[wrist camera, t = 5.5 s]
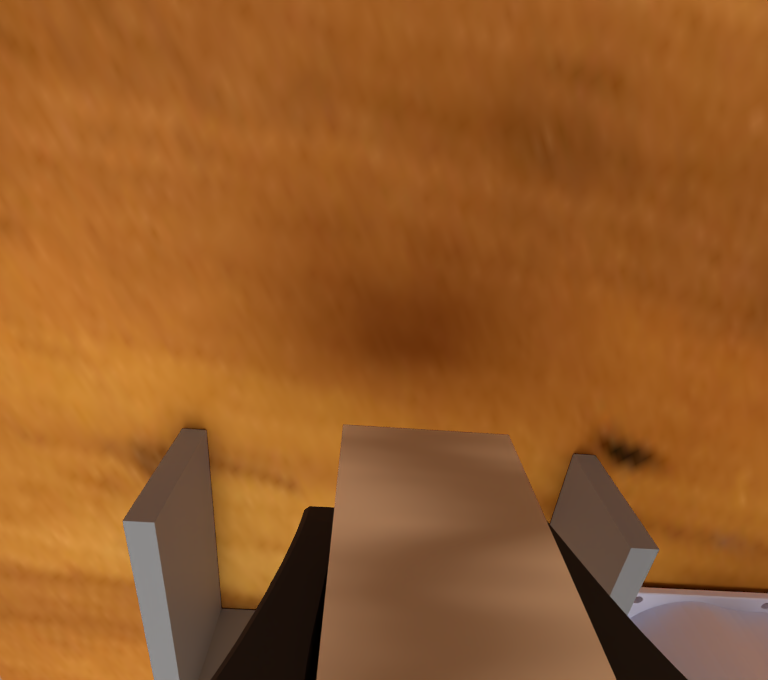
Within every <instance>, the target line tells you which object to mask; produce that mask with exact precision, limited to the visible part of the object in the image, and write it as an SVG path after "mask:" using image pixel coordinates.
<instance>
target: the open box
mask: <svg viewBox="0 0 768 680" xmlns="http://www.w3.org/2000/svg"><path fill="white" fill-rule="evenodd" d="M550 525H551V526H552V527H553V529H554V530H555V531H556V532H557V534H558V535H559V536H560V537H561V538H562V540H563V541H564V542H565V543H566V544H567V546H568V547H569V548H570V549H571V550H572V552H573V553H574V554H575V555H576V557H577V558H578V559H579V560H580V561H581V563H582V564H583V565H584V566H585V567H586V569H587V570H588V571H589V572H590V573H591V575H592V576H593V577H594V578H595V579H596V580H597V582H598V583H599V584H600V585H601V586H602V587H603V589H604V590H605V591H606V592H607V593H608V594H609V596H610V597H611V598H612V599H613V600H614V601H615V602H616V603H617V605H618V606H619V607H620V608H621V609H622V610H623V611H624V613H625V614H626V615H628V613H629V611H630V609H631V607H632V605H633V603H634V601H635V599H636V597H637V595H638V592H639V590H640V588H641V586H642V584H643V582H644V580H645V578H646V576H647V574H648V572H649V570H650V568H651V566H652V564H653V562H654V559H655V557H656V555H657V553H658V551H659V548H658V547H657V545H656V544H655V543H654V541H653V540H652V538H651V537H650V535H649V534H648V532H647V531H646V529H645V528H644V526H643V525H642V523H641V522H640V520H639V519H638V517H637V516H636V515H635V513H634V512H633V510H632V509H631V507H630V506H629V504H628V503H627V501H626V500H625V498H624V497H623V495H622V494H621V492H620V491H619V489H618V488H617V487H616V485H615V484H614V482H613V481H612V479H611V478H610V476H609V475H608V473H607V472H606V470H605V469H604V467H603V466H602V464H601V463H600V461H599V460H598V459H597V457H596V456H595V455H583V454H573V457H572V460H571V463H570V466H569V469H568V472H567V475H566V478H565V481H564V484H563V487H562V490H561V493H560V496H559V499H558V502H557V505H556V508H555V511H554V514H553V517H552V520H551V523H550ZM123 526H124V531H125V536H126V541H127V546H128V551H129V556H130V561H131V566H132V571H133V576H134V581H135V586H136V591H137V596H138V601H139V606H140V611H141V616H142V621H143V626H144V631H145V636H146V641H147V646H148V651H149V656H150V661H151V666H152V672H153V677H154V680H211V678H212V677H213V675H214V674H215V673H216V671H217V670H218V668H219V667H220V665H221V664H222V662H223V661H224V659H225V658H226V656H227V655H228V653H229V652H230V650H231V649H232V647H233V646H234V644H235V643H236V641H237V639H238V638H239V636H240V635H241V633H242V631H243V630H244V628H245V626H246V625H247V623H248V622H249V620H250V618H251V617H252V615H253V613H254V612H255V610H242V609H222V607H221V596H220V584H219V572H218V560H217V549H216V537H215V525H214V513H213V501H212V490H211V478H210V466H209V454H208V443H207V431H206V430H198V429H183V428H182V430H181V431H180V433H179V434H178V436H177V438H176V439H175V441H174V442H173V444H172V445H171V447H170V448H169V450H168V451H167V453H166V455H165V456H164V458H163V459H162V461H161V462H160V464H159V465H158V467H157V468H156V470H155V472H154V473H153V475H152V476H151V478H150V479H149V481H148V482H147V484H146V485H145V487H144V489H143V490H142V492H141V493H140V495H139V496H138V498H137V499H136V501H135V502H134V504H133V506H132V507H131V509H130V510H129V512H128V513H127V515H126V516H125V518H124V519H123Z"/></svg>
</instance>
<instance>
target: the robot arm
mask: <svg viewBox="0 0 768 680" xmlns="http://www.w3.org/2000/svg"><path fill="white" fill-rule="evenodd" d="M333 517H334V508H331V507H312V506H310V507H308V508H307V509H305V510H304V513H303V516H302V519H301V522H300V524H299V527H298V529H297V532H296V534H295V537H294V539H293V541H292V543H291V545H290V547H289V549H288V551H287V554H286V556H285V558H284V560H283V562H282V564H281V566H280V567H279V569H278V571H277V573H276V575H275V577H274V578H273V580H272V582H271V584H270V586H269V588H268V590H267V591H266V593H265V595H264V597H263V598H262V600H261V602H260V604H259V605H258V607H257V609H256V610H255V612H254V613H253V615H252V617H251V618H250V620H249V622H248V623H247V625H246V626H245V628H244V630H243V631H242V633H241V635H240V636H239V638H238V639H237V641H236V643H235V644H234V646H233V647H232V649H231V650H230V652H229V653H228V655H227V656H226V658H225V659H224V661H223V662H222V664H221V665H220V667H219V668H218V670H217V671H216V673H215V674H214V675H213V677H212V678H211V680H316V679H317V669H318V660H319V650H320V641H321V631H322V622H323V612H324V603H325V593H326V584H327V574H328V565H329V555H330V545H331V536H332V526H333ZM546 521H547V520H546ZM547 523H548V521H547ZM548 526H549V528H550V530H551V532H552V535H553V537H554V539H555V541H556V544H557V546H558V548H559V550H560V553H561V555H562V557H563V560H564V562H565V564H566V566H567V569H568V571H569V573H570V575H571V578H572V580H573V582H574V585H575V587H576V589H577V591H578V594H579V596H580V598H581V600H582V603H583V605H584V607H585V610H586V612H587V614H588V616H589V619H590V621H591V623H592V625H593V628H594V630H595V632H596V635H597V637H598V639H599V641H600V644H601V646H602V648H603V650H604V653H605V655H606V657H607V659H608V662H609V664H610V666H611V669H612V671H613V673H614V675H615V678H616V680H768V593H752V592H731V591H710V590H690V589H669V588H649V587H641V588H640V590H639V592H638V595H637V597H636V599H635V601H634V603H633V605H632V607H631V609H630V611H629V613H628V615H626V614H625V613H624V611H623V610H622V609H621V608H620V607H619V606H618V605H617V603H616V602H615V601H614V600H613V599H612V598H611V597H610V596H609V594H608V593H607V592H606V591H605V590H604V589H603V587H602V586H601V585H600V584H599V583H598V582H597V580H596V579H595V578H594V577H593V576H592V575H591V573H590V572H589V571H588V570H587V569H586V567H585V566H584V565H583V564H582V563H581V561H580V560H579V559H578V558H577V557H576V555H575V554H574V553H573V552H572V550H571V549H570V548H569V547H568V546H567V544H566V543H565V542H564V541H563V540H562V538H561V537H560V536H559V535H558V534H557V532H556V531H555V530H554V529H553V527H552V526H551V525H550V524H549V523H548Z"/></svg>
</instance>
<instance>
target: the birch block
mask: <svg viewBox="0 0 768 680" xmlns="http://www.w3.org/2000/svg"><path fill="white" fill-rule="evenodd" d="M316 680H616V678H615V675H614V673H613V671H612V669H611V666H610V664H609V662H608V659H607V657H606V655H605V653H604V650H603V648H602V646H601V644H600V641H599V639H598V637H597V635H596V632H595V630H594V628H593V625H592V623H591V621H590V619H589V616H588V614H587V612H586V610H585V607H584V605H583V603H582V600H581V598H580V596H579V594H578V591H577V589H576V587H575V585H574V582H573V580H572V578H571V575H570V573H569V571H568V569H567V566H566V564H565V562H564V560H563V557H562V555H561V553H560V550H559V548H558V546H557V544H556V541H555V539H554V537H553V535H552V532H551V530H550V528H549V526H548V523H547V521H546V519H545V516H544V514H543V512H542V510H541V507H540V505H539V503H538V501H537V498H536V496H535V494H534V491H533V489H532V487H531V485H530V482H529V480H528V478H527V476H526V473H525V471H524V469H523V466H522V464H521V462H520V460H519V457H518V455H517V453H516V451H515V448H514V446H513V444H512V441H511V439H510V437H509V435H504V434H488V433H472V432H456V431H439V430H423V429H407V428H391V427H375V426H358V425H343V431H342V441H341V450H340V460H339V469H338V479H337V488H336V498H335V507H334V517H333V526H332V536H331V545H330V555H329V565H328V574H327V584H326V593H325V603H324V612H323V622H322V631H321V641H320V650H319V660H318V669H317V679H316Z"/></svg>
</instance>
